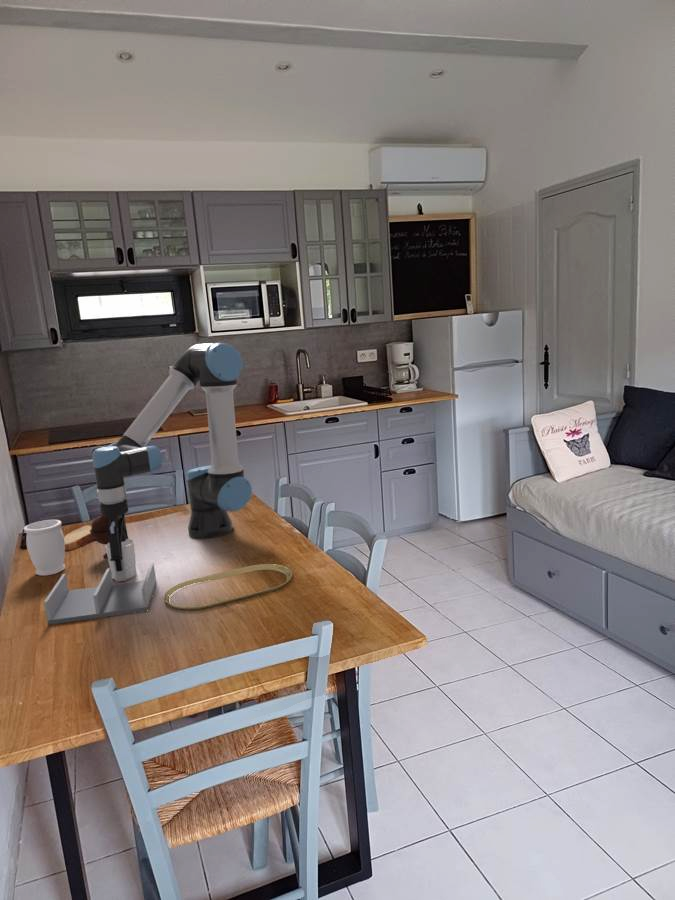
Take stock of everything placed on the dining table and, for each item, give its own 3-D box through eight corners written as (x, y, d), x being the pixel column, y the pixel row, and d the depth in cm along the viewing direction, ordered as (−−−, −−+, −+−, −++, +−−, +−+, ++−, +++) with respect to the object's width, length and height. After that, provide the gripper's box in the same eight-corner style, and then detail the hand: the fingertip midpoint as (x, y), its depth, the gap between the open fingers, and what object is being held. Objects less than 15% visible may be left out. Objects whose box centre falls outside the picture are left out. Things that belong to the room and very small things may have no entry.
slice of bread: (60, 553, 210) (58, 542, 209) (55, 539, 225) (53, 529, 225) (115, 541, 218) (114, 530, 217) (107, 527, 234) (105, 518, 233)
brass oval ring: (302, 586, 170) (302, 580, 170) (172, 619, 156) (171, 613, 156) (279, 564, 187) (278, 559, 187) (159, 592, 173) (158, 587, 173)
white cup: (114, 571, 189) (109, 540, 187) (141, 569, 190) (136, 537, 188) (107, 582, 182) (102, 549, 180) (134, 579, 182) (130, 547, 180)
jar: (76, 565, 197) (68, 519, 194) (51, 578, 187) (43, 531, 184) (49, 563, 200) (41, 518, 197) (24, 576, 191) (15, 529, 188)
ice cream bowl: (135, 548, 208) (128, 505, 205) (120, 561, 197) (113, 516, 194) (104, 549, 209) (97, 506, 206) (88, 562, 198) (80, 517, 195)
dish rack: (156, 583, 178) (153, 562, 177) (148, 611, 161) (144, 588, 160) (66, 594, 175) (62, 574, 174) (48, 624, 158) (43, 601, 156)
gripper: (106, 492, 190) (117, 563, 195) (91, 512, 171) (104, 590, 175) (132, 490, 191) (142, 560, 196) (120, 509, 172) (131, 587, 176)
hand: (124, 574), depth 186 cm, fingers closed on white cup, 7 cm apart
